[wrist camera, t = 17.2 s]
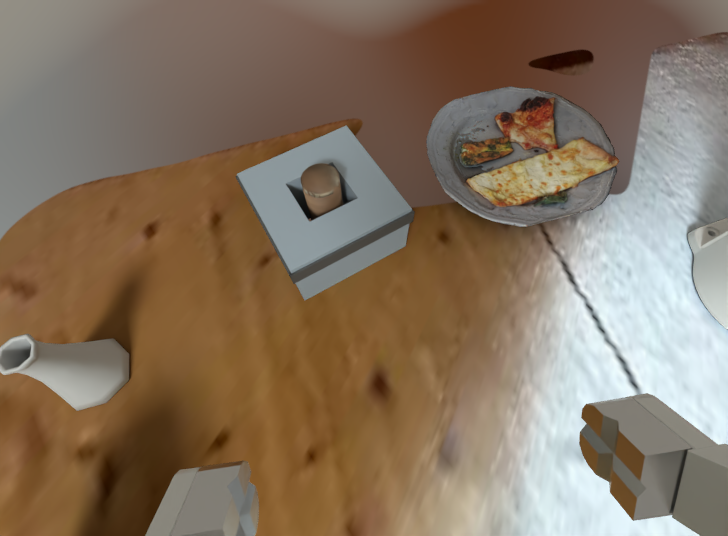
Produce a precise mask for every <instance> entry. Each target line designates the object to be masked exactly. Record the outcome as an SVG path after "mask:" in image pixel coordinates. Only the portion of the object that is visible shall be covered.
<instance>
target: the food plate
mask: <svg viewBox="0 0 728 536" xmlns="http://www.w3.org/2000/svg"><path fill="white" fill-rule="evenodd" d="M427 153H428V157H429V160H430V163H431V166H432V168H433V170H434V172H435V175H436V177H437V179H438V181H439V182H440V184H441V186H442V188H443V190H444V191H445V193H446V194H447V195H448V196H450V197H451V198H452V199H454V200H455V201H456V202H458V203H459V204H460V205H462V206H464V207H465V208H466V209H468V210H470V211H471V212H472V213H476V215H479V216H480V217H483V218H485V219H486V218H487V219H488V220H491V221H494V222H500V223H502V224H509V225H516V226H520V227H523V226H524V227H526V226H529V225H530V226H531V225H535V224H539V223H542V222H547V221H552V220H556V219H559V218H562V217H566V216H569V215H574V214H578V213H580V212H584V211H589V210H590V209H591V210H593V209H595V208H596V207H597V206H599V205H601V204H602V203H603V202H604V201H605V199H606V198H607V196H608V195H609V192H610V189H611V186H612V182H613V180H614V177H615V175H616V173H617V168H616V165H617V164H618V162H619V160H618V158H617V157H616V156H615V155H614V154H615V153H614V148H613V146H612V145H611V142H610V139H609V138H608V137H607V135H606V133H605V131H604V129H603V127H602V126H601V124H600V123H598V121H597V120H596V119H595V118H593V116H592V115H591V114H590V113H588V112H587V111H586V110H584V109H583V108H581V107H579V106H577V105H575V104H574V103H572V102H570V101H569V100H567V99H565V98H563V97H561V96H559V95H557V94H555V93H552V92H546V91H538V90H534V89H532V88H516V87H511V86H510V87H505V88H501V89H497V90H496V89H495V90H491V91H487V92H482V93H479V94H475V95H470V96H467V97H464V98H460V99H455V100H453V101H451V102H450V103H448V104H447V105H445V106H444V107H443V108H442V109H440V111H439V112H438V113H437V115H436V116H435V118H434V119H433V121H432V124H431V128H430V130H429V133H428V135H427Z"/></svg>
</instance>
